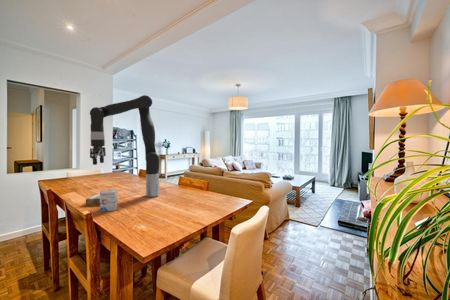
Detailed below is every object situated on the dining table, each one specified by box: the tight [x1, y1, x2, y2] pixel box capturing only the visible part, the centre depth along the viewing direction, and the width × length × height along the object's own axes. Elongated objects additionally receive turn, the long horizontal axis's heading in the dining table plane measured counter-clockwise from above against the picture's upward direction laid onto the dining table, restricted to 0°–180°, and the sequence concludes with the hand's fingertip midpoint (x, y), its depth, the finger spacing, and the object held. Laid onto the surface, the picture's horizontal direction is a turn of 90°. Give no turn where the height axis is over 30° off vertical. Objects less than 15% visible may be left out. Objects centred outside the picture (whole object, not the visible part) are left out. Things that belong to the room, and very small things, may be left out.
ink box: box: [99, 189, 118, 213], centre depth 115 cm, size 9×5×12 cm, turn 112°
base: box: [85, 193, 100, 206], centre depth 130 cm, size 13×13×4 cm
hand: (98, 163), depth 124 cm, fingers open, 8 cm apart
